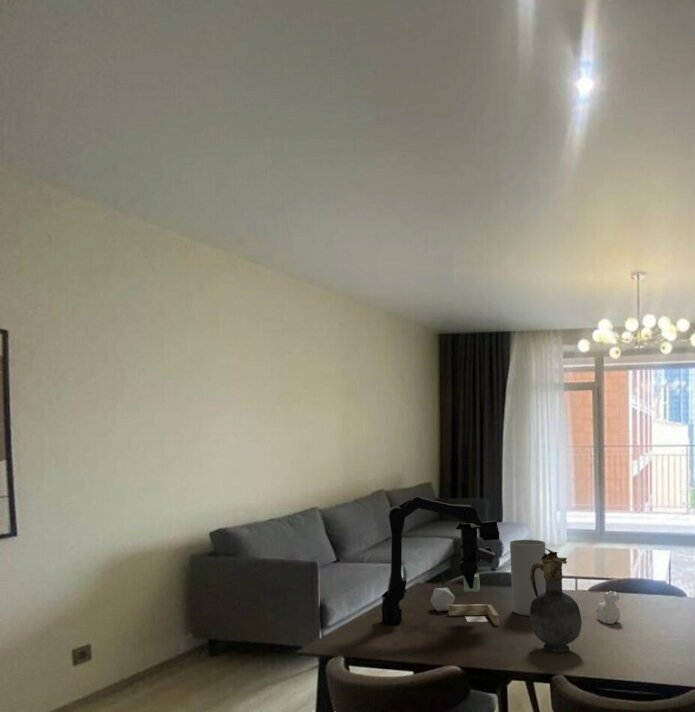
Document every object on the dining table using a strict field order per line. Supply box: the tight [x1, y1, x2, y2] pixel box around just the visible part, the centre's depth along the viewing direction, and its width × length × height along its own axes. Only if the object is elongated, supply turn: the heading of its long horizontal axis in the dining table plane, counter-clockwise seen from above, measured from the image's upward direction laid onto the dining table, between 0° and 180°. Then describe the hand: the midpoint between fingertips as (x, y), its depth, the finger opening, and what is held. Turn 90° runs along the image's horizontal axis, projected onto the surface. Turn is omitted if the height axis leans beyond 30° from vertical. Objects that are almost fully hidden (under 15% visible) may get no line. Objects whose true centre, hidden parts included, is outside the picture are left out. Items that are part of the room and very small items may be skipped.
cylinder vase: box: [509, 539, 547, 617], centre depth 284 cm, size 12×12×25 cm
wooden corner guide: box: [447, 603, 500, 627], centre depth 274 cm, size 15×16×4 cm
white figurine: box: [595, 590, 621, 625], centre depth 268 cm, size 12×8×11 cm
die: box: [429, 587, 456, 612], centre depth 290 cm, size 8×9×10 cm
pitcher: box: [529, 547, 583, 654], centre depth 240 cm, size 11×19×30 cm, turn 22°
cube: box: [462, 572, 481, 592], centre depth 274 cm, size 5×5×5 cm
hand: (471, 586), depth 274 cm, fingers closed on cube, 5 cm apart
